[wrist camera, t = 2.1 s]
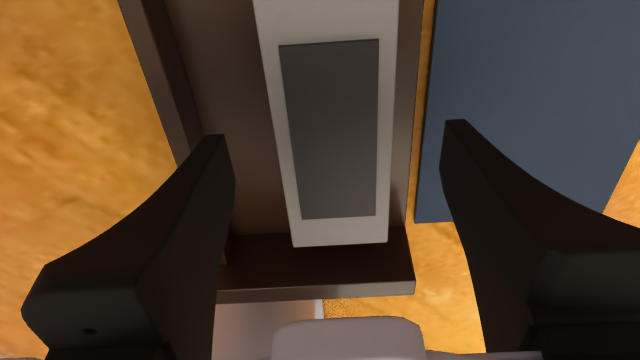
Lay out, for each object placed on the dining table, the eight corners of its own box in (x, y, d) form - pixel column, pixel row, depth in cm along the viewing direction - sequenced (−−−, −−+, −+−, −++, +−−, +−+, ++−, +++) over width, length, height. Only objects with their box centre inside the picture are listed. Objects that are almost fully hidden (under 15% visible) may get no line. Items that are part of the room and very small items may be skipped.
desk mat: (599, 208, 27) (602, 213, 27) (413, 219, 27) (414, 223, 27) (825, -257, 14) (837, -257, 13) (458, -224, 14) (461, -224, 14)
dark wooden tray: (397, 208, 27) (414, 295, 22) (229, 217, 27) (213, 305, 23) (428, -266, 13) (485, -285, 9) (98, -235, 14) (-5, -239, 9)
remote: (381, 203, 23) (388, 246, 21) (294, 208, 23) (292, 251, 21) (391, -128, 14) (406, -110, 12) (246, -116, 14) (234, -96, 12)
